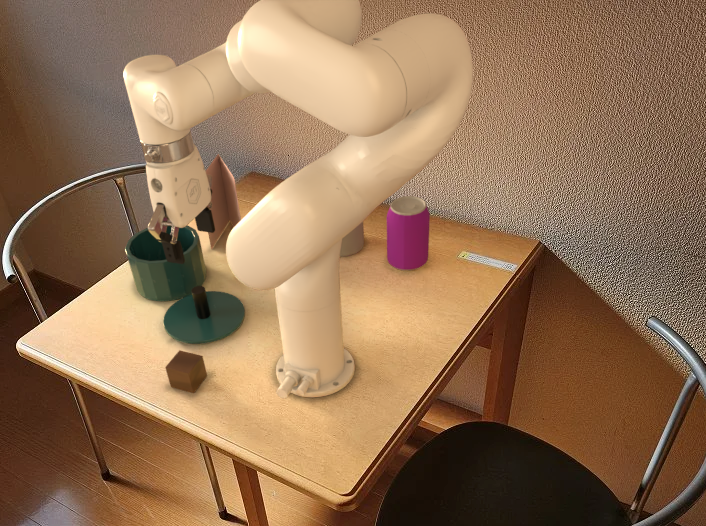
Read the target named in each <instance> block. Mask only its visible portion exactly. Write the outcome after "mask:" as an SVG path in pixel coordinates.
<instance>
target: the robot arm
mask: <svg viewBox="0 0 706 526" xmlns="http://www.w3.org/2000/svg"><path fill="white" fill-rule="evenodd" d="M362 11H363V10H362V6H361V2H360V0H259V1H257V2H255V3H254V4H253V5H252V6H250V8H249V9H248V10H247V11H246V13H245V14H244V15H243V17H242V19H241V20H240V21H238V22H236V23H235V24H234V25H233V26H232V27H231V28H230V30H229V33H228V35H227V37H226V41H225V42H224V43H222V44H220V45H219V46H217V47H215V48H213V49H211V50H209V51H207V52H205V53H202V54H199V55H198V56H196V57H194V58H191V59H190V60H188V61H186V62H184V63H182V64H180V65H178V66H177V64H176V62H175V61H174V60H173V58H171V57H170V56H168V55H164V54H148V55H144V56H143V55H142V56H140V57H136V58H134V59H133V60H131V61H129V62H128V63H126V65H125V67H124V69H123V81H124V85H125V88H126V92H127V97H128V100H129V104H130V107H131V111H132V115H133V119H134V122H135V127H136V130H137V134H138V137H139V142H140V146H141V149H142V153H143V157H144V161H145V163H146V164H145V173H146V180H147V181H146V182H147V187H148V193H149V198H150V203H151V206H152V207H151V208H152V210H153V213H152V215H151V218H150V220H149V223H148V225H147V228H148V231H149V232H150V233H151V234H152V235H153V237H154V239H156V240H158V241H159V242H162V245H163V249H164V252H165V256H166V260H167V261H168V262H172V263H178V264H183V263H184V262H185V258H184V254H183V250H182V246H181V242H180V241H178V240H177V237H178V231H179V228H184V227H185V226H187V225H188V226H189V224H190V223H192V221H193V220H194V221H195V224H196V229H197V231H198V232H204V233H208V232H210V233H213V232H214V231H215V226H214V221H213V216H212V212H211V210H210V209H211V208H212V202H211V196H212V189H211V185H212V176H211V175H206V168H205V164H204V163H203V162H204V161H203V159H202V156H201V154H200V152H199V149H198V147H197V145H196V144H195V143H194V140H193V135H192V131H191V130H192V128H194V127H196V126H197V125H199V124H201V123H203V122H205V121H207V120H208V119H210V118H211V117H213V116H215V115H217V114H219V113H220V112H222V111H224V110H226V109H228V108H230V107H232V106H234V105H236V104H238V103H239V102H241V101H243V100H244V99H246V98H248V97H250V96H252V95H254V94H261V95H265V94H269V93H273V95H275V96H277V97H278V98H280V99H282V100H284V101H285V102H286V103H289V104H291V105H293V106H294V107H297V108H298V109H300V110H302V111H304V112H305V113H306V114H309V115H311V116H312V117H314V118H316V119H318V120H319V121H321V122H323V123H325V124H326V125H328V126H330V127H332V128H333V129H336V130H337V131H339V132H341V133H344V134H346V135H347V136H346V138H344V140H342V141H341V142H340V143H339V144H338V145H336V147H334V148H333V149H331V150H330V151H329V152H327V153H326V154H324V155H322V156H320V157H318V158H317V159H315V160H313V161H311V162H310V163H308V164H306V165H305V166H304V167H302V168H301V169H299V170H298V171H297V172H295V173H293V174H291V175H290V176H289V177H287V178H286V179H284V180H283V181H281V182H280V183H279V184H277V185H276V186H275V187H274V188H273V189H271V190H270V191H269V192H267V194H266V195H265V196H263V197H262V198H261V199H260V200H259V202H258V203H256V204H255V205H254V206H253V207H252V208H251V209H250V210H249V212H247V213H246V215H244V216H243V217H242V218H241V221H240V222H239V223H238V224H237V225H236V226H235V227H232V229H231V230H230V232H229V234H228V236H227V240H226V244H225V257H226V261H227V265H228V267H229V269H230V271H231V273H232V274H233V276H234V278H236V279H237V280H238V282H240V283H241V284H243V285H244V286H246V287H248V288H250V289H254V290H257V291H269V290H270V291H271V290H274V296H275V303H276V310H277V317H278V325H279V332H280V341H281V346H282V353H283V354H282V355H281V356H280V357H279V359H278V360H277V363H276V366H275V374H276V378H277V382H278V384H279V386H278V388H277V389H276V391H275V394H276V395H277V396H278V398H280V399H283V400H285V399H287V398H288V397H289V396H290V394H294V395H296V396H299V397H303V398H321V397H326V396H329V395H332V394H336V393H337V392H339V391H342V389H344V388H345V387H347V386H348V384H349V383H350V382H351V381H352V379H353V378H354V375H355V371H356V369H355V360H354V357H353V355H352V354H351V353H350V351H348V349H346V348H345V347H344V332H343V317H342V315H343V314H342V300H341V280H340V279H341V278H340V261H341V260H340V258H341V256H340V250H341V243H342V238H343V237H345V236H346V235H347V234H349V233H350V232H351V231H352V230H353V229H355V228H356V227H357V226H358V225H359V224H360V223H362V222H363V223H364V221H365V220H366V219H367V218H368V216H369V215H370V214H372V213H373V211H375V210H376V209H377V208H378V207H379V206H380V205H381V204H383V203H384V202H385V201H386V200H388V198H390V197H391V196H393V195H395V193H397V192H398V191H399V190H400V189H401V188H402V187H404V186H405V185H406V184H407V183H408V182H410V181H411V180H412V179H413V178H415V177H416V176H417V175H419V173H420V172H422V171H423V170H424V169H425V168H426V167H427V166H428V165H429V164H431V162H432V161H434V160H435V159H436V157H437V156H438V155H440V153H441V152H442V151H443V149H444V148H445V147H446V146H447V144H448V143H449V142H450V140H451V139H452V138H453V136H454V135H455V133H456V132H457V130H458V128H459V126H460V125H461V123H462V121H463V118H464V116H465V114H466V111H467V109H468V106H469V103H470V99H471V95H472V91H473V81H474V64H473V55H472V50H471V46H470V43H469V40H468V38H467V36H466V34H465V32H464V29H462V28H461V27H460V25H459V24H458V23H457V22H456V21H455V20H453V19H452V18H450V17H447V16H445V15H444V14H441V13H440V14H439V13H432V12H431V13H430V12H428V13H419V14H414V15H411V16H408V17H405V18H403V19H400V20H398V21H396V22H394V23H392V24H390V25H388V26H386V27H385V28H383V29H381V30H379V31H377V32H375V33H373V34H372V35H370V36H369V37H366V38H364V39H363V40H361V41H359V42H358V43H356V44H354V43H355V42H356V39H357V38H358V36H359V33H360V31H361V26H362V19H363V18H362V17H363V12H362ZM353 44H354V45H353ZM167 226H169V227H172V229H171V235H170V234H167V233H166V230H167Z"/></svg>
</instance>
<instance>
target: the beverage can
mask: <svg viewBox="0 0 706 526" xmlns="http://www.w3.org/2000/svg"><path fill="white" fill-rule="evenodd" d="M430 214H431V213H430V211H429V208H428V206H427V203H426V201H425V200H424V199H423V198H421V197H419V196H416V195H415V196H414V195H404V196H400V197H397V198H395V199H394V200H392V201H391V203H390V206H389V208H388V211H387V213H386V259H387V262H388V264H389V265H390V266H392V268H394V269H396V270H398V271H403V272H411V271H415V270H418V269H420V268H421V267H423V266H424V265H426V264H427V262H428V260H429V249H430V248H429V244H430V222H431V220H430V217H431V215H430Z"/></svg>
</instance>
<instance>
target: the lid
mask: <svg viewBox="0 0 706 526" xmlns="http://www.w3.org/2000/svg"><path fill="white" fill-rule="evenodd" d="M191 292H192V294H191V295H188V296H186V297H184V298H181V299H178V300H176V301H175V302H174V303H173V304H171V306H169V308H168V309H167V310H166V312H165V313H164V316H163V318H162V324H163V328H164V331H165V333H166V334H167V335H168V336H169V337H170V338H171V339H173V340H174V341H177V342H180V343H183V344H190V345H202V344H203V345H204V344H210V343H213V342H217V341H220V340H222V339H225V338H226V337H228V336H230V335H231V334H233V333H234V332H236V331H237V330H238V329H239V328H240V326H242V324H243V322H244V321H245V318H246V317H245V316H246V310H245V305H244V304H243V302H242V301H241V299H240V298H238V297H237V296H236V295H234V294H231V293H228V292H225V291H219V290H206V287H205V286H203V285H202V286H196V287H194V288H193V289H192V291H191Z"/></svg>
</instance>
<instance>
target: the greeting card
mask: <svg viewBox="0 0 706 526" xmlns="http://www.w3.org/2000/svg"><path fill="white" fill-rule="evenodd" d="M205 171H206V175H211V176H212V185H211V189H212V196H211V202H212V208H211V209H210V210H211V212H212V216H213V221H214V226H215V231H214V232H213V233H210V232H207V234H208V239H209V244H210V249H211V251H212V250H213V249H214V247H215V245H216V243H217V242H218V241H219V239H220V237H221V235H222V234H223V232H224V230H225V229H226V227H227V226H228V224H229V223H231V225H232V228H234V227H235V226H236V225H237V224H238V223H239V222H240V221H241V220H242V218H241V211H240V206H239V199H238V193H237V187H236V180H235V176H234V174H232V172H231V170H230V169H229V167H228V166H227V164H226V163H225V162H224V160H223V159H222V157H221V156H220V153H217V154H216V156H215V157H214V159H213V160H212V162H210V164H209V165H208V167H207V169H205Z"/></svg>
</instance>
